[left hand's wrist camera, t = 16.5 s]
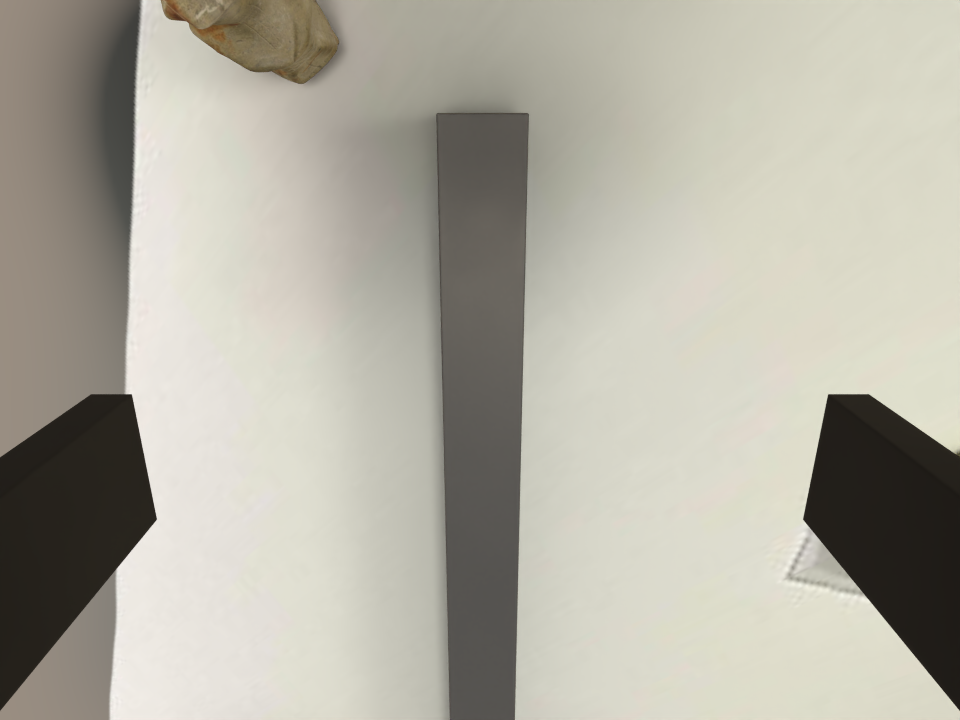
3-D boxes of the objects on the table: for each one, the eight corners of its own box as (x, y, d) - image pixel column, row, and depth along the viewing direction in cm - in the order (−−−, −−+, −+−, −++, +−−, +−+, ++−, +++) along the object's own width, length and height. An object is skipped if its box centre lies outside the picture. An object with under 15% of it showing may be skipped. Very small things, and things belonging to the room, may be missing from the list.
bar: (443, 115, 42) (436, 113, 36) (520, 115, 42) (528, 113, 36) (458, 895, 69) (455, 981, 62) (505, 895, 69) (508, 981, 62)
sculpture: (284, -62, 39) (173, -168, 25) (363, 43, 41) (302, 0, 27) (216, 5, 40) (73, -60, 26) (296, 104, 42) (203, 93, 28)
